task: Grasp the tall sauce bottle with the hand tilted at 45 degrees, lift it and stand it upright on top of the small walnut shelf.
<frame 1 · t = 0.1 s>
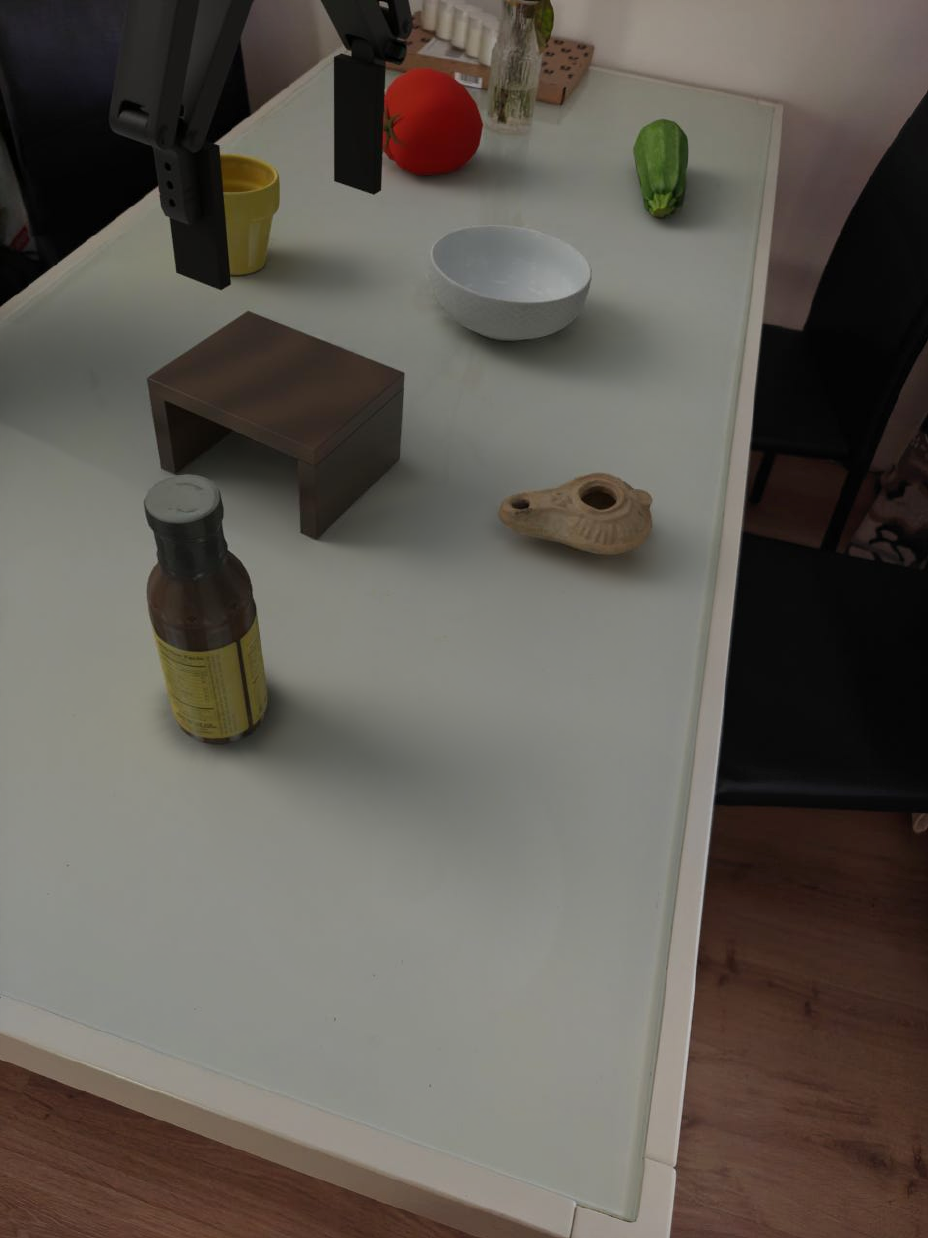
hand: (287, 229, 52), 30 cm above the table, tool pointing down, fingers open, 13 cm apart
flower pot: (235, 262, 110), on the table
cereal bowl: (502, 323, 107), on the table
shelf: (283, 463, 87), on the table
sauce bottle: (221, 722, 67), on the table
vegetable: (656, 196, 133), on the table
tomato: (424, 167, 132), on the table
pottery oil lamp: (569, 537, 84), on the table
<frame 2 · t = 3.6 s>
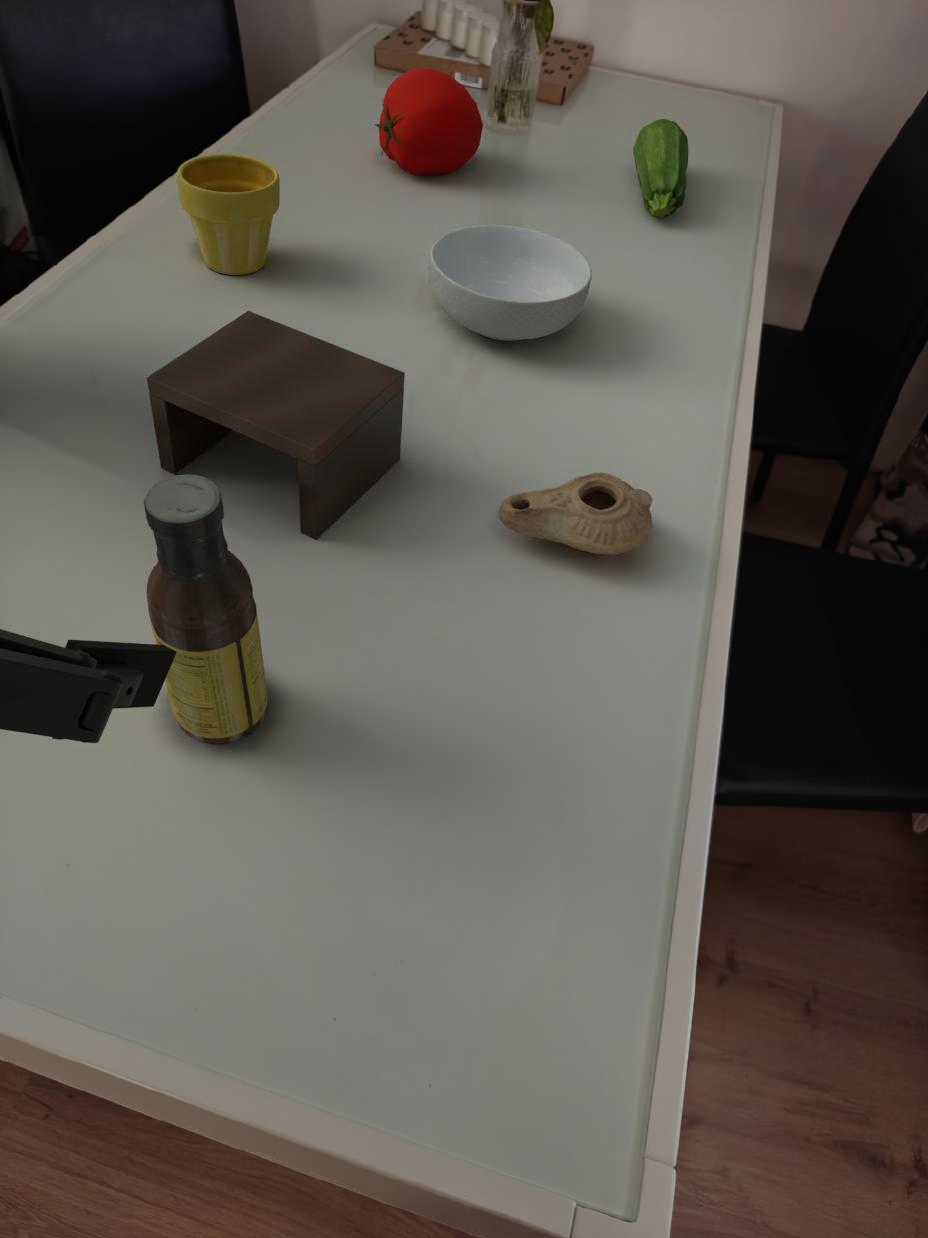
hand: (44, 614, 46), 20 cm above the table, tool tilted 45°, fingers open, 13 cm apart
nothing on the table moved.
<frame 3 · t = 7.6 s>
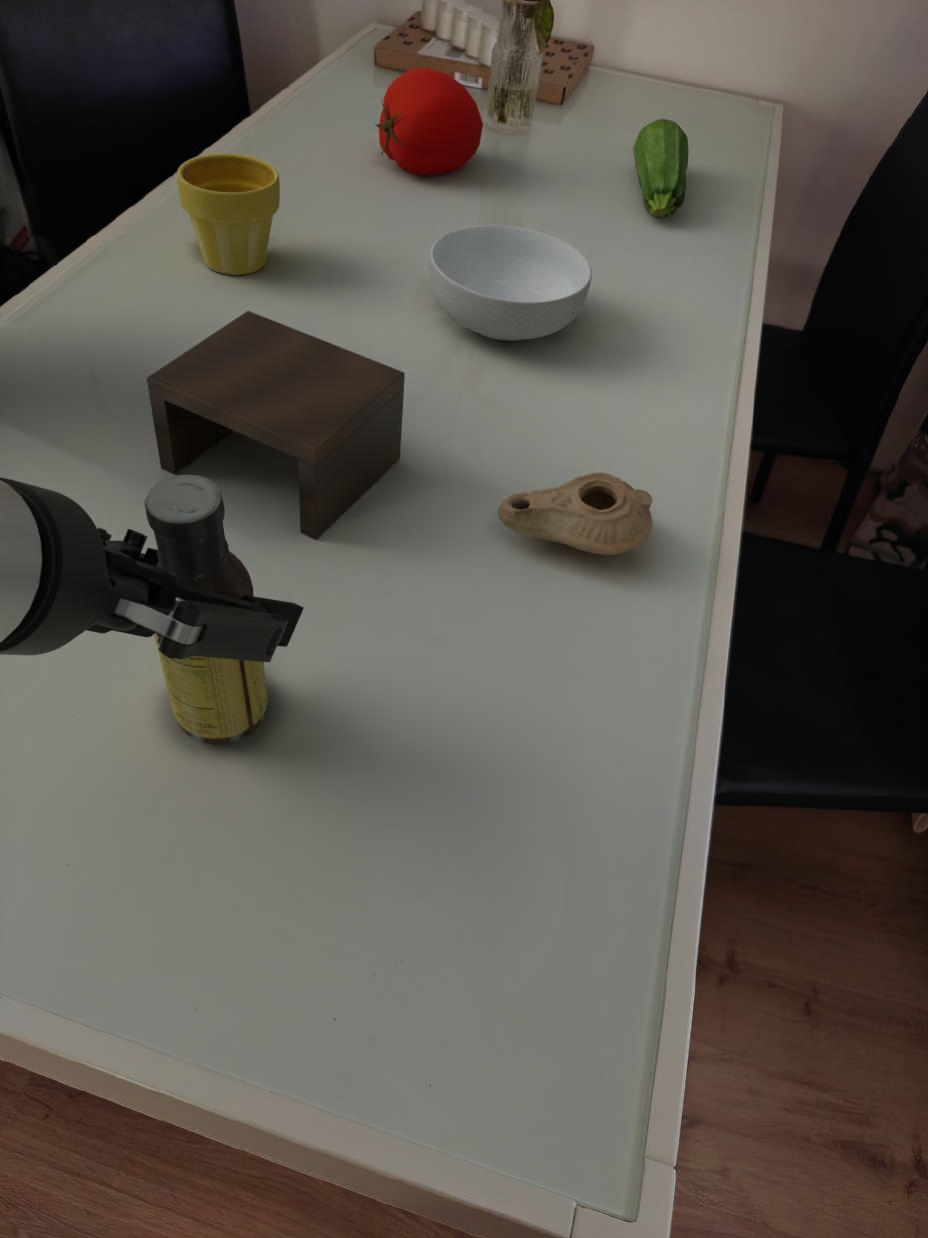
hand: (245, 602, 63), 8 cm above the table, tool tilted 45°, fingers closed on sauce bottle, 6 cm apart
sauce bottle: (221, 722, 67), on the table, touching gripper
everything else where it was.
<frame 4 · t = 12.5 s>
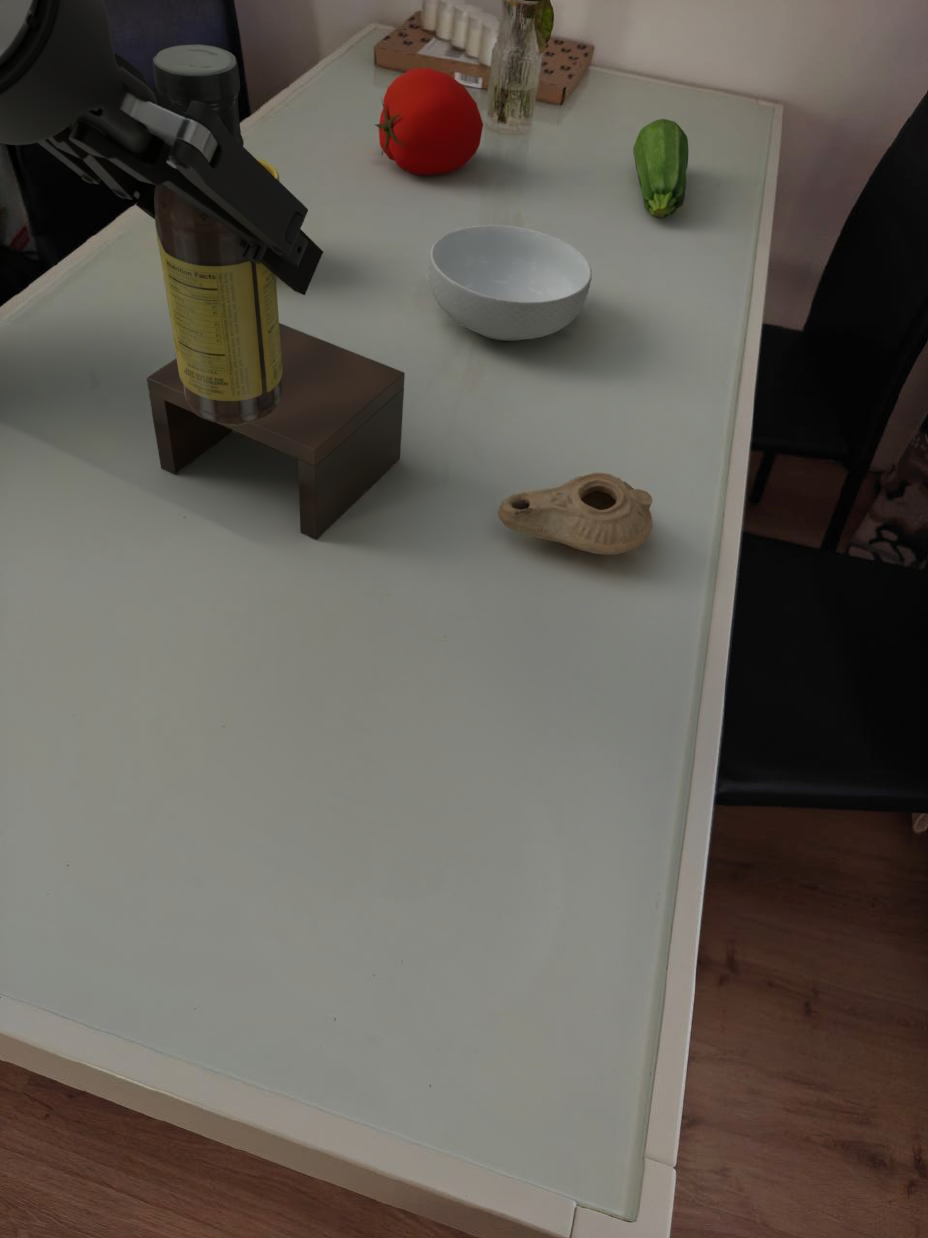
hand: (259, 252, 59), 26 cm above the table, tool tilted 45°, fingers closed on sauce bottle, 6 cm apart
sauce bottle: (232, 403, 63), point 18 cm above the table, touching gripper
everything else where it was.
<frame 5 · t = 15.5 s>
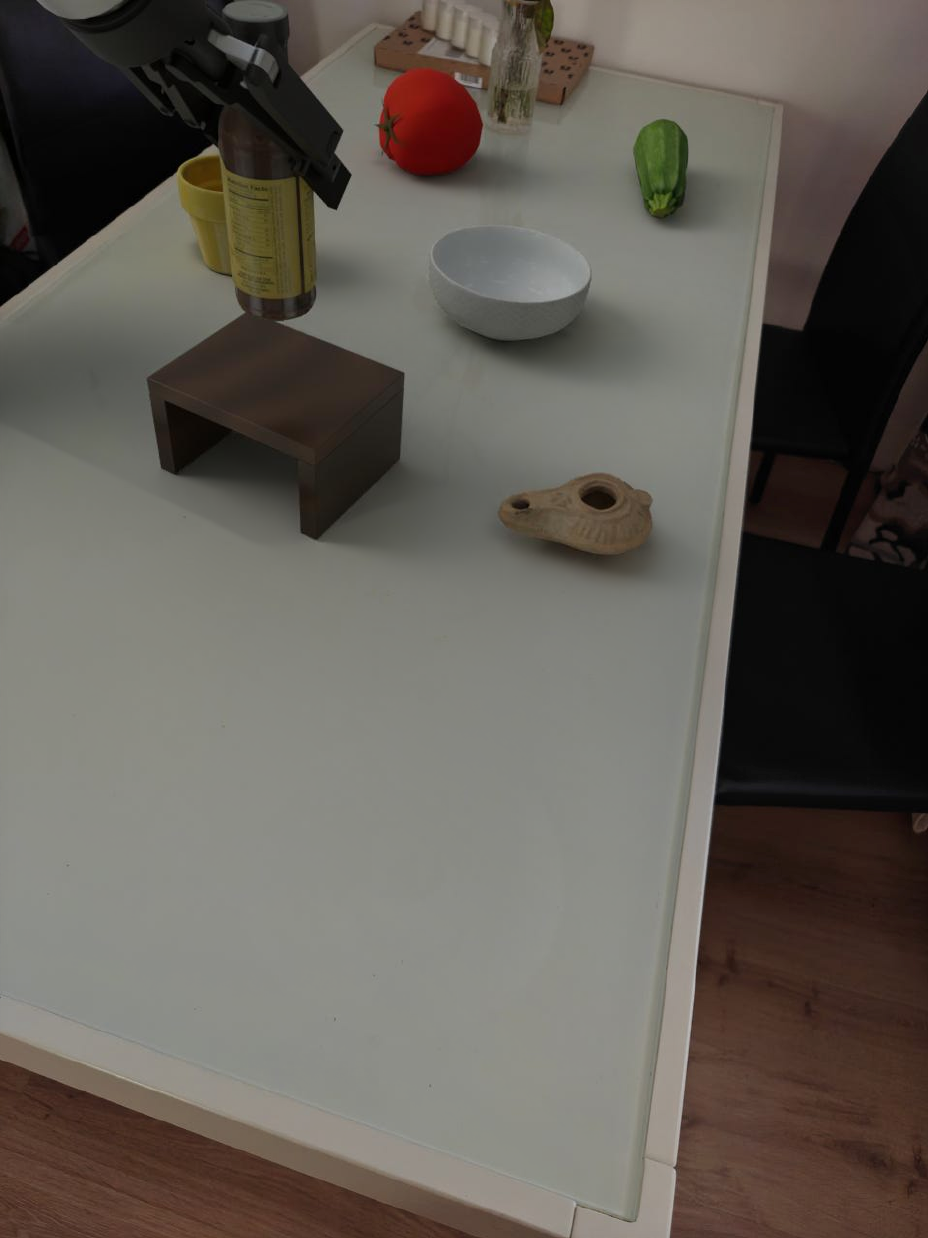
hand: (299, 176, 72), 24 cm above the table, tool tilted 45°, fingers closed on sauce bottle, 6 cm apart
sauce bottle: (274, 305, 75), point 15 cm above the table, touching gripper
everything else where it was.
when the fingers open (17 cm above the table, at t = 17.6 s): sauce bottle stays where it is, resting on shelf.
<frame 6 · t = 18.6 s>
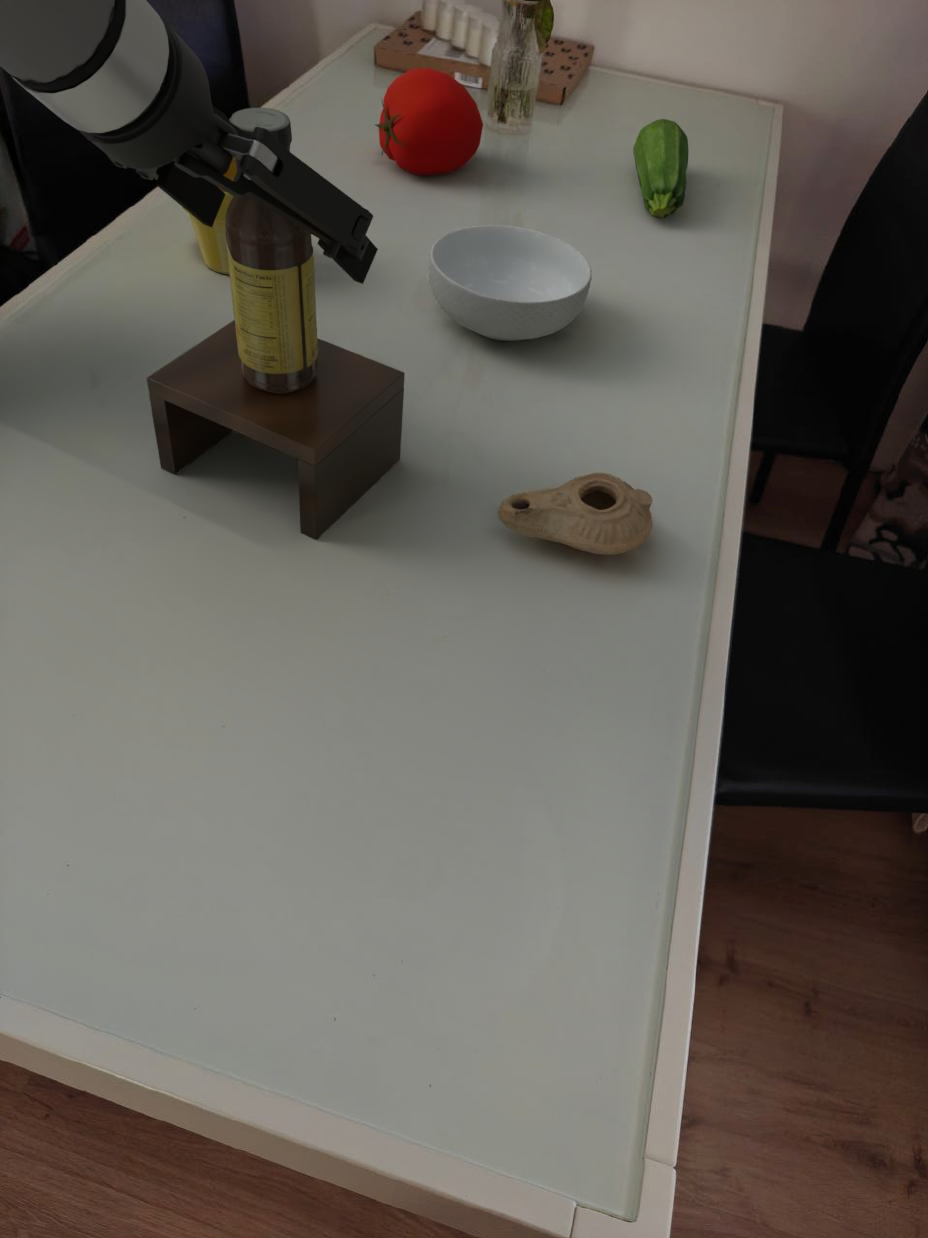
hand: (288, 236, 74), 20 cm above the table, tool tilted 45°, fingers open, 13 cm apart
sauce bottle: (278, 377, 80), point 9 cm above the table, touching shelf
everything else where it was.
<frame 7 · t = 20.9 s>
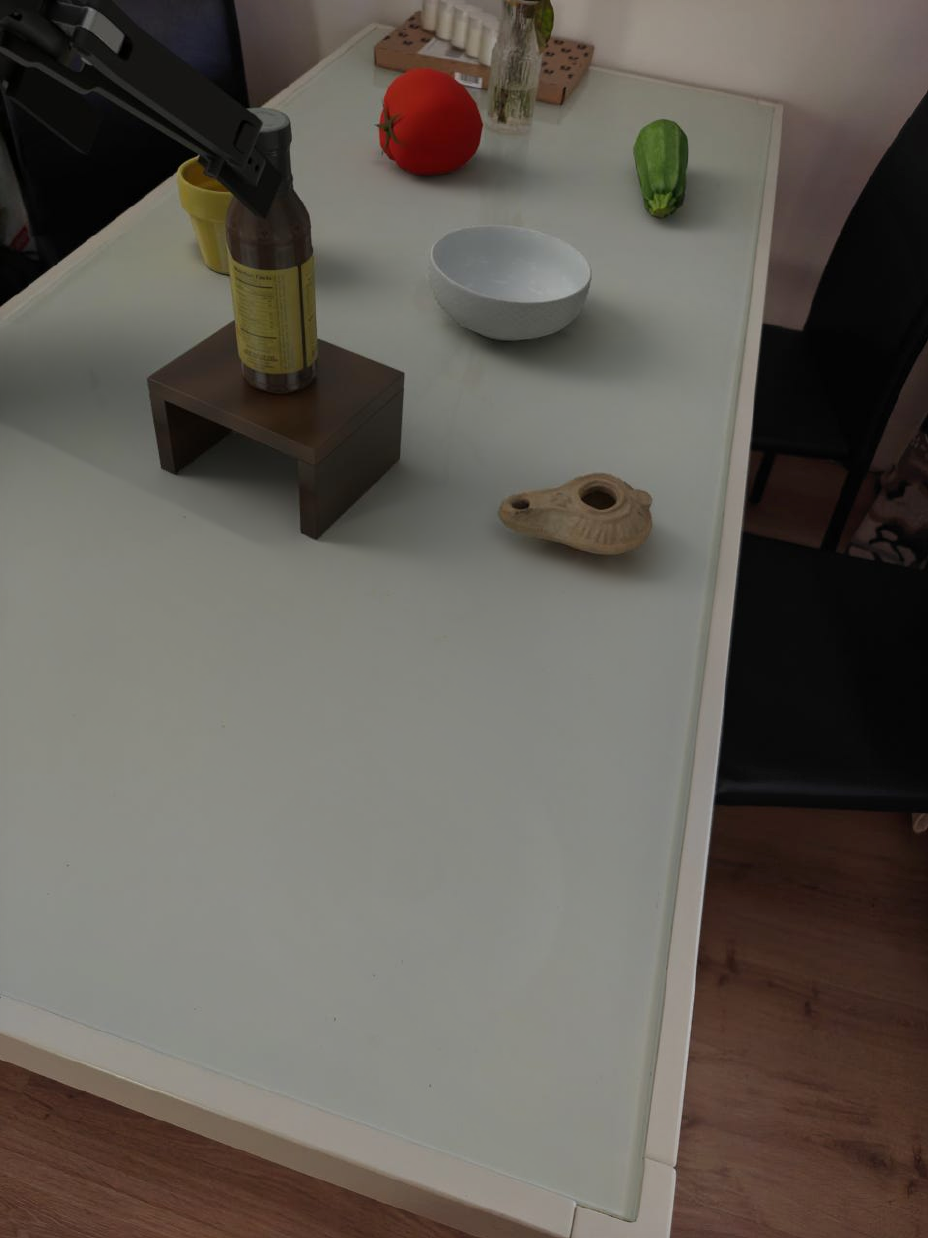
hand: (177, 163, 61), 28 cm above the table, tool tilted 45°, fingers open, 13 cm apart
nothing on the table moved.
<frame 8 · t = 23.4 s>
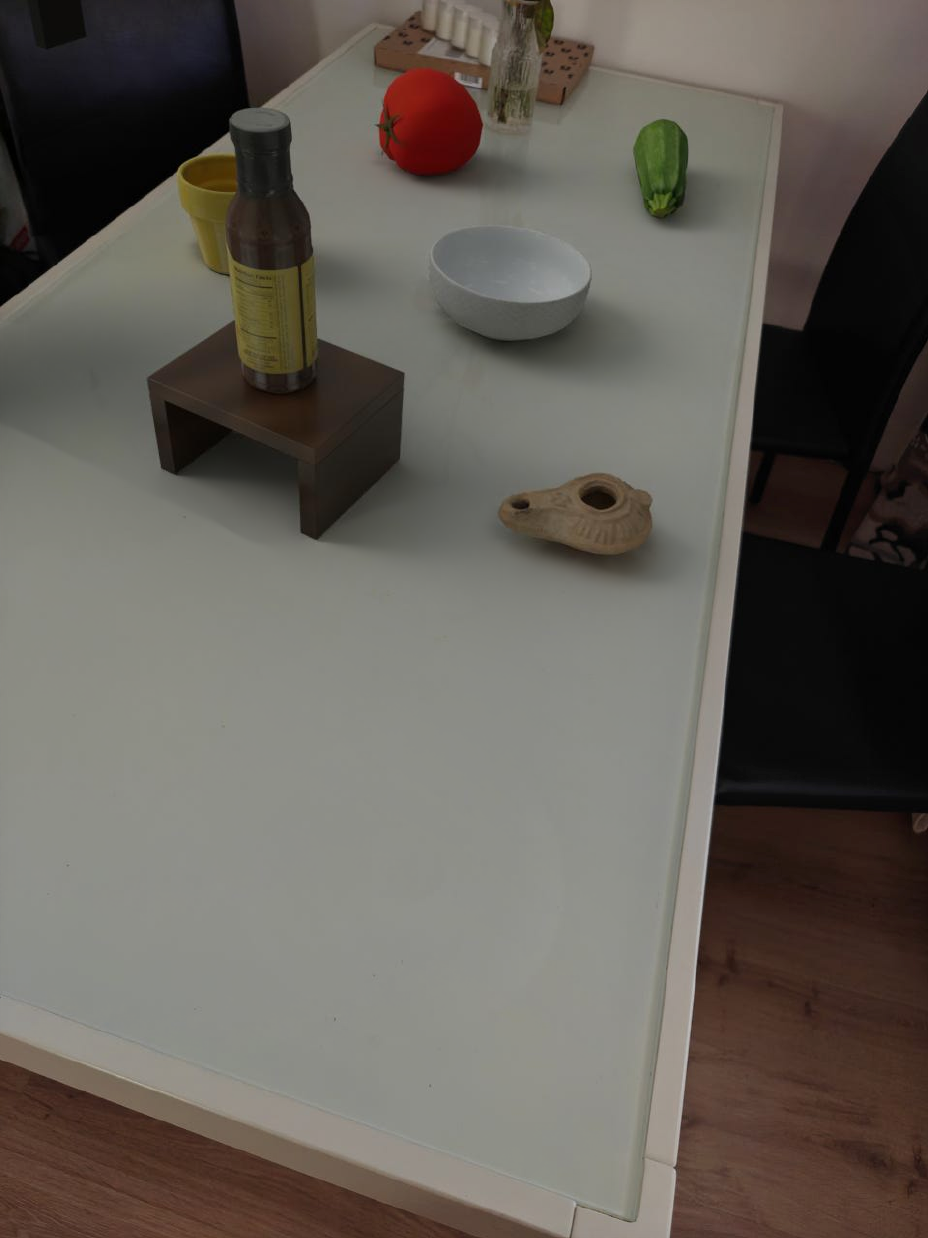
nothing on the table moved.
at the end: sauce bottle inside the target area on the shelf (0.1 cm from its centre), point 8.8 cm above the shelf's base; sauce bottle tilted 0°; the gripper is holding nothing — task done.
